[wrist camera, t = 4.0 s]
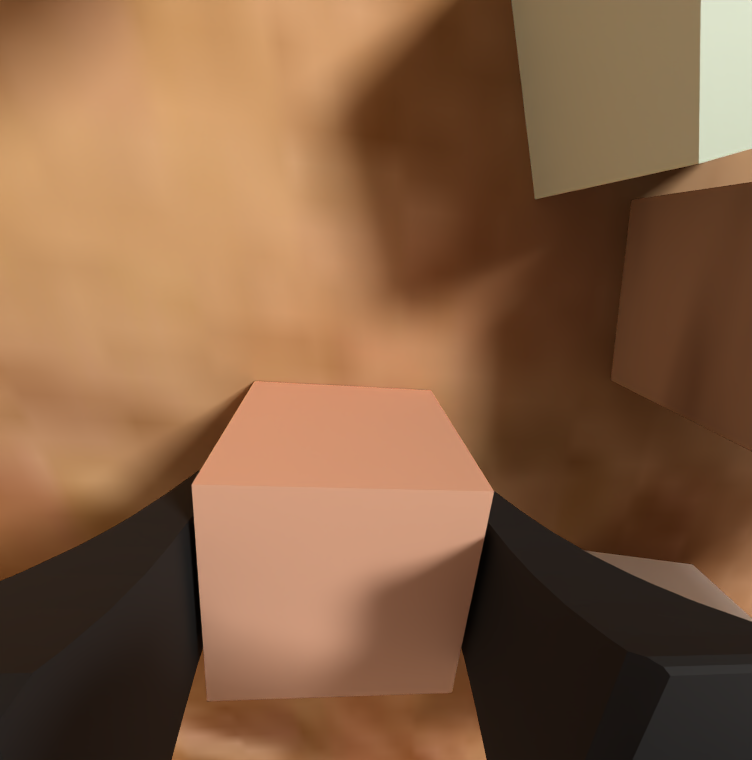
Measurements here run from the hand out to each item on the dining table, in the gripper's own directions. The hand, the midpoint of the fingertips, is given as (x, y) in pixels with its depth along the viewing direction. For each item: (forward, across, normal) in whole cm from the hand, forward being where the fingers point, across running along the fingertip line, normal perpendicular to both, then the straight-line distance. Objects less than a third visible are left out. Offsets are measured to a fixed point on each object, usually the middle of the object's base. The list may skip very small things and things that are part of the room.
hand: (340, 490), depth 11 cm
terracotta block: (+1, 0, 0) cm, 1 cm away
